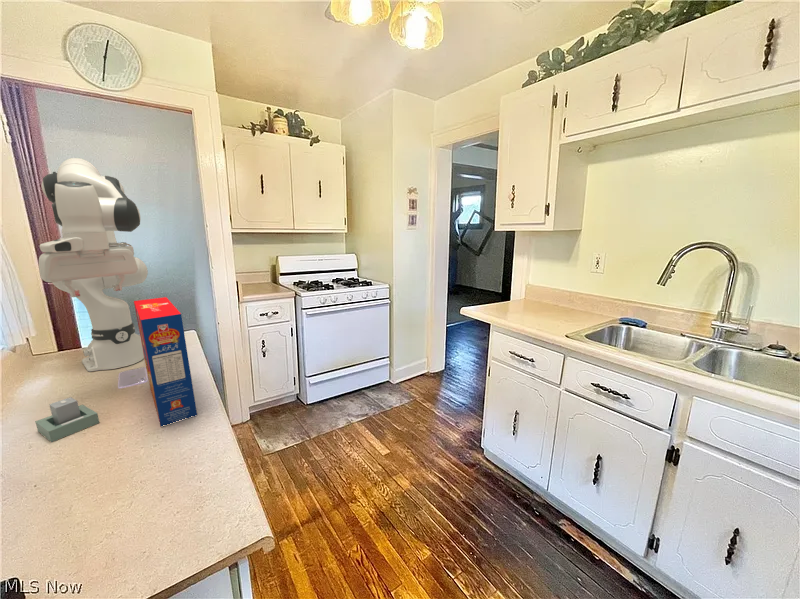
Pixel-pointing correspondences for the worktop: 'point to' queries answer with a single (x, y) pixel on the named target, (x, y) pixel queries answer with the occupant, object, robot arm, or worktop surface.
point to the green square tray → (67, 424)
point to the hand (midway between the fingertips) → (97, 293)
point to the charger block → (65, 411)
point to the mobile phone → (132, 377)
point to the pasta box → (166, 359)
